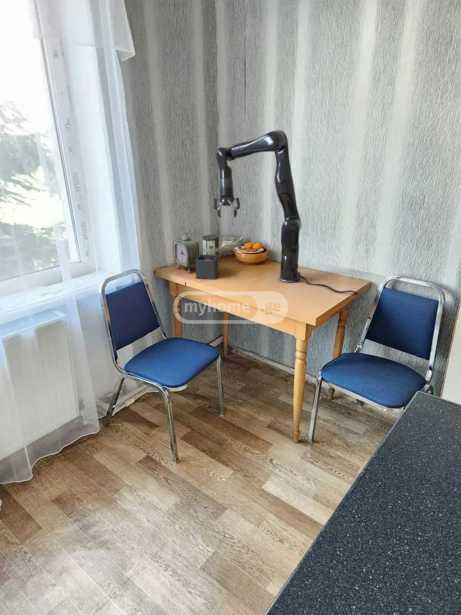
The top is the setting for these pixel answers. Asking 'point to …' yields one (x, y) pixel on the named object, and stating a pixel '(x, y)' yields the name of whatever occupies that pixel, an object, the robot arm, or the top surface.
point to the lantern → (211, 245)
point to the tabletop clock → (185, 251)
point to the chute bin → (206, 266)
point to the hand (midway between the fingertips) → (227, 217)
